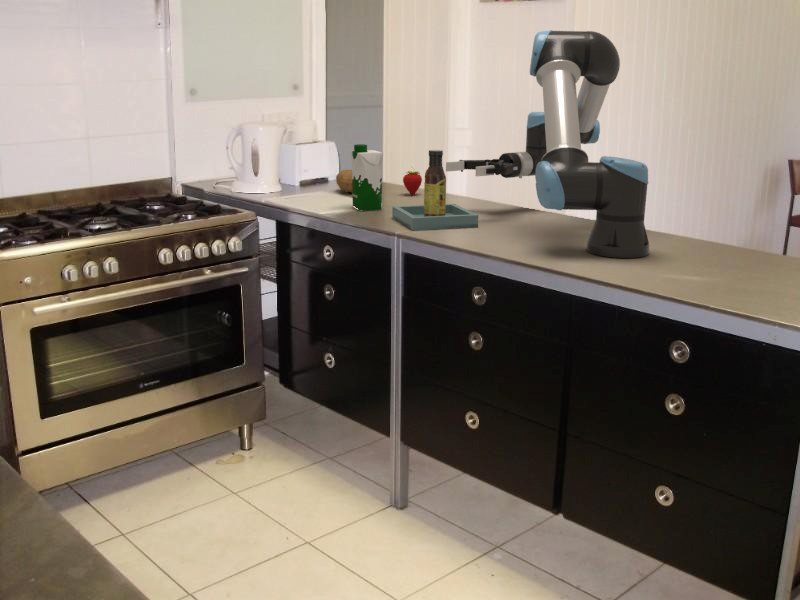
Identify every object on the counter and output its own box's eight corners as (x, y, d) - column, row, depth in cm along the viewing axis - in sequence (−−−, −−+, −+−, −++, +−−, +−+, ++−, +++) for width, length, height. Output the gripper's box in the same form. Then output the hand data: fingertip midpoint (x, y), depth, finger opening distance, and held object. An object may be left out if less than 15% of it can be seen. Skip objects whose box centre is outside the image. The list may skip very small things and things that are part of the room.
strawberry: (398, 195, 299) (399, 166, 297) (412, 193, 305) (412, 164, 302) (412, 197, 296) (412, 168, 293) (425, 195, 302) (426, 166, 299)
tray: (478, 227, 247) (478, 215, 246) (412, 230, 241) (412, 218, 240) (453, 215, 265) (454, 203, 264) (392, 218, 259) (392, 206, 258)
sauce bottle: (443, 221, 249) (444, 151, 244) (422, 220, 250) (422, 151, 245) (446, 217, 255) (448, 149, 250) (425, 216, 256) (426, 148, 251)
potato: (353, 188, 313) (353, 166, 311) (373, 194, 302) (373, 171, 300) (329, 191, 308) (329, 168, 306) (349, 196, 297) (349, 173, 295)
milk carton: (349, 207, 276) (348, 143, 271) (375, 205, 280) (376, 143, 274) (358, 211, 268) (357, 146, 263) (385, 210, 272) (385, 145, 266)
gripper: (542, 181, 258) (489, 186, 246) (486, 172, 277) (434, 177, 265) (544, 156, 256) (490, 160, 244) (487, 149, 275) (435, 152, 263)
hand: (461, 169), depth 255 cm, fingers open, 13 cm apart
